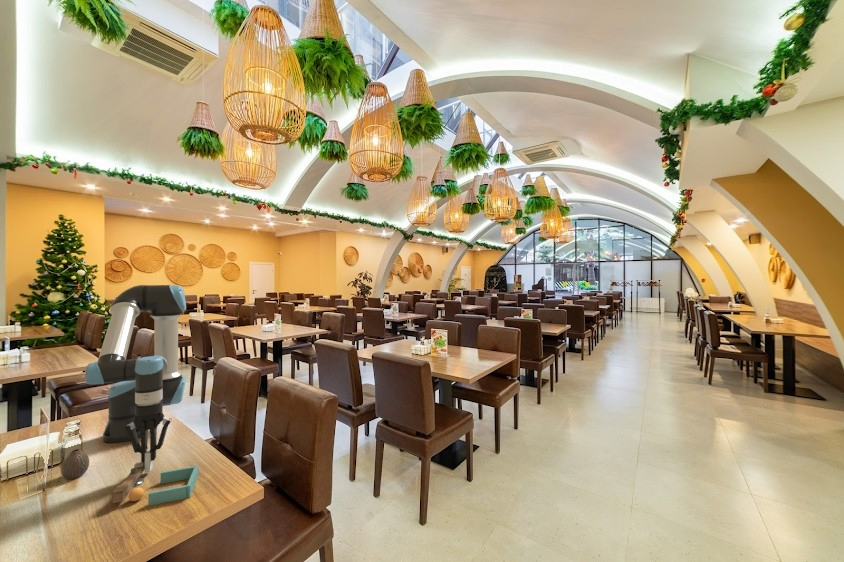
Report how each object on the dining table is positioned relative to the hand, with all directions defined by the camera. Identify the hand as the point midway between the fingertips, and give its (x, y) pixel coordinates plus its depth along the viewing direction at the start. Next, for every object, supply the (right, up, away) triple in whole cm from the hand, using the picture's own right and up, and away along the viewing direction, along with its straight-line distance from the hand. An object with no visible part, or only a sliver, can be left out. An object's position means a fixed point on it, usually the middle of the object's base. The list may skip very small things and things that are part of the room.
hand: (148, 470), depth 120 cm
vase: (-24, -1, -2) cm, 24 cm away
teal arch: (+15, -1, -9) cm, 18 cm away
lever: (+1, -1, -8) cm, 9 cm away
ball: (+8, 0, -14) cm, 16 cm away
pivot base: (0, -1, -6) cm, 6 cm away
